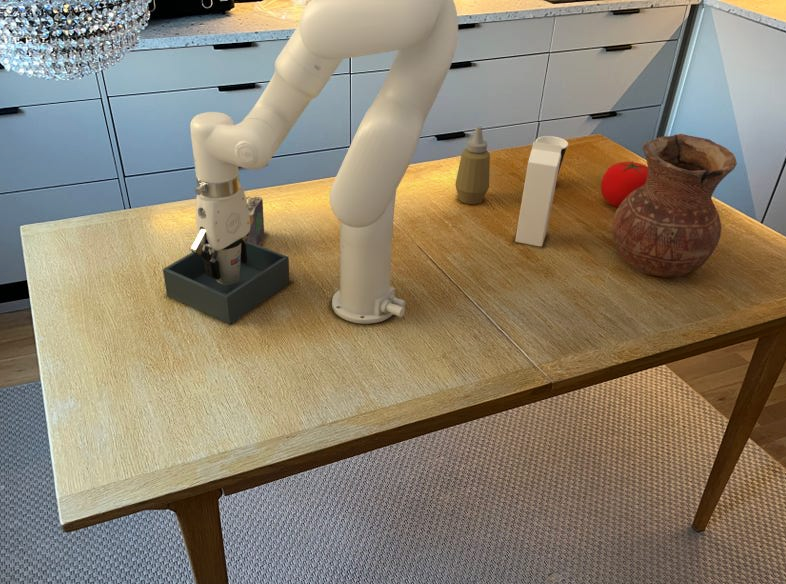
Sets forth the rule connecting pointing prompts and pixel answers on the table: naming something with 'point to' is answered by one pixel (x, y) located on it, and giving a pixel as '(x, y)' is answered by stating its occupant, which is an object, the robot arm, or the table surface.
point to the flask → (256, 220)
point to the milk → (538, 193)
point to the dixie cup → (554, 141)
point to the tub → (232, 300)
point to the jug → (673, 207)
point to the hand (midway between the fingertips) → (227, 268)
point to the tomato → (622, 181)
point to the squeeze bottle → (473, 170)
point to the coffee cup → (229, 263)
